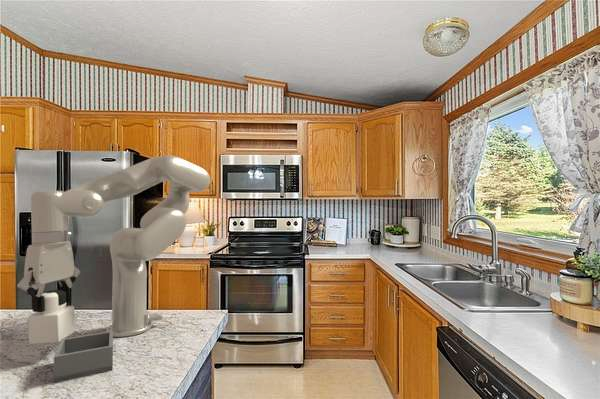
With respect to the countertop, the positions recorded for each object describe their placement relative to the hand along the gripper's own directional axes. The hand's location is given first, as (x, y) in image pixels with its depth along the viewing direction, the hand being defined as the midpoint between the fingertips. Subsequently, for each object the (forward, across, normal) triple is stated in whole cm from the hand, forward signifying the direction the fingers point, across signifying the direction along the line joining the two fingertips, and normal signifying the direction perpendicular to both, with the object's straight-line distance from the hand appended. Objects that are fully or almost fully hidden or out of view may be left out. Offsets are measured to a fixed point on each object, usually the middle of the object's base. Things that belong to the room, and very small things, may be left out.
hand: (52, 306), depth 86 cm
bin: (+12, +2, +14) cm, 19 cm away
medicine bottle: (+8, 0, 0) cm, 8 cm away
